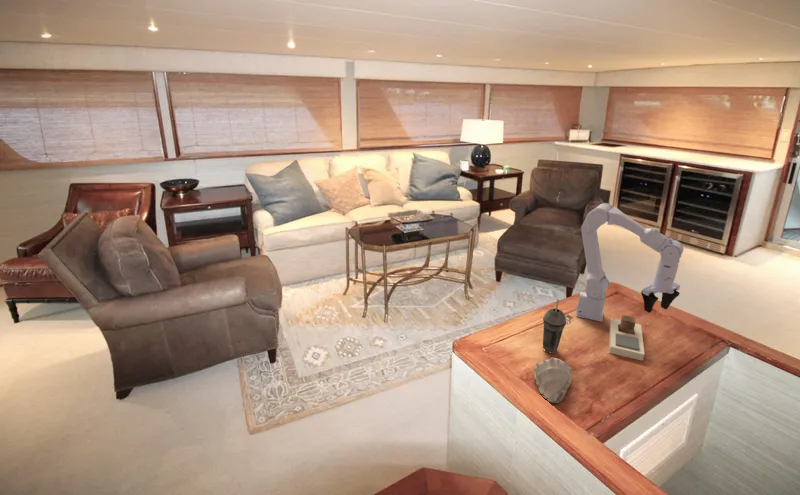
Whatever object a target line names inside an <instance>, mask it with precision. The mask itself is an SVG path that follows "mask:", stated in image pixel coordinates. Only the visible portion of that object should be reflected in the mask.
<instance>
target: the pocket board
mask: <svg viewBox="0 0 800 495" xmlns="http://www.w3.org/2000/svg"><path fill="white" fill-rule="evenodd" d="M620 323H621V319H616V318H610V320H609V342H608V343H609V345H608V346H609V353H608V354H613V355H617V356H621V357H625V358H630V359H633V360H638V361H644V358H645V347H644V346H645V345H644V339H643V338H644V337H643V331H642V330H643V329H642V324H639V323H636V322H635V327H634V331H633V334H628V333H624V332H619V328H620ZM616 333H617V334H621V335H626V336H630V337H635V338H638V339H639V351H638V350H634V349H629V348H625V347H621V346H616Z"/></svg>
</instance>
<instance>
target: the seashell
mask: <svg viewBox="0 0 800 495" xmlns="http://www.w3.org/2000/svg"><path fill="white" fill-rule="evenodd" d="M535 365H536V366H535V367H533V370H534V372H533V373H534V374H533V377H534V382H535V384H536V386H537V388H538V391H539V392H540V394H542V395H543V396H544V397H545V398H546V399H548V400H549V401H550V402H549V401H548V402H549V403H553V404H560V403H561V402H562V401H563V400H564V398H565V396H566V393H567V391H568V389H569V388H570V385H571V384H572V374H571V372H572V370H573V368H572V367H570V366H569V365H568V364H567V363H566V362H565V361H563V360H562V359H560V358H556V357H550V358H549V359H544V360H542V361H541V362H537V363H536V364H535ZM542 395H541V396H542Z"/></svg>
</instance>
